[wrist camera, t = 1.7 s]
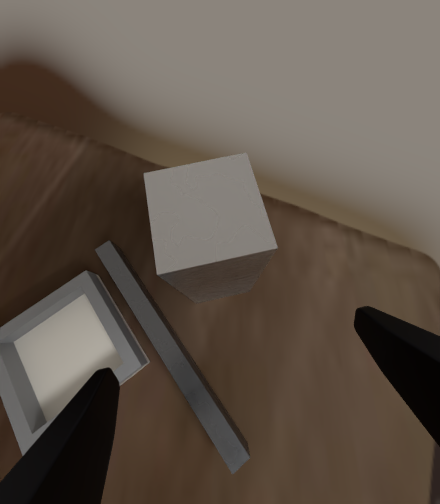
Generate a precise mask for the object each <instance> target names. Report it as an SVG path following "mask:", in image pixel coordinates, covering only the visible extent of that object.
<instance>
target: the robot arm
mask: <svg viewBox="0 0 440 504" xmlns="http://www.w3.org/2000/svg"><path fill="white" fill-rule="evenodd" d="M354 328H355V330H356V332H357V334H358V335H359V337H360V338H361V340H362V342H363V343H364V345H365V346H366V348H367V349H368V351H369V353H370V354H371V356H372V357H373V359H374V360H375V362H376V364H377V365H378V367H379V368H380V370H381V371H382V372H383V374H384V375H385V376H386V378H387V379H388V380H389V382H390V383H391V384H392V386H393V387H394V388H395V390H396V391H397V392H398V393H399V395H400V396H401V397H402V399H403V400H404V401H405V402H406V404H407V405H408V406H409V408H410V409H411V410H412V412H413V413H414V414H415V415H416V417H417V418H418V419H419V421H420V422H421V423H422V425H423V426H424V427H425V428H426V430H427V431H428V432H429V434H430V435H431V436H432V438H433V439H434V440H435V441H436V443H437V444H438V445H439V447H440V336H438V335H436V334H434V333H431V332H429V331H426V330H424V329H422V328H419V327H417V326H415V325H412V324H410V323H408V322H405V321H403V320H401V319H398V318H396V317H394V316H391V315H389V314H387V313H384V312H382V311H380V310H377V309H375V308H373V307H370V306H364V307H360V308H357V309H356V312H355V319H354ZM119 390H120V384H119V381H118V379H117V377H116V376H115V374H114V372H113V371H112V369H111V368H109V367H107V368H102V369H99V370H97V371H95V372H94V374H93V375H92V376H91V377H90V378H89V379H88V381H87V382H86V383H85V384H84V385H83V386H82V388H81V389H80V390H79V391H78V392H77V393H76V395H75V396H74V397H73V398H72V399H71V400H70V402H69V403H68V404H67V405H66V406H65V407H64V409H63V410H62V411H61V412H60V413H59V414H58V416H57V417H56V418H55V419H54V420H53V421H52V423H51V424H50V425H49V426H48V427H47V428H46V430H45V431H44V432H43V433H42V434H41V435H40V437H39V438H38V439H37V440H36V441H35V442H34V444H33V445H32V446H31V447H30V448H29V449H28V451H27V452H26V453H25V454H24V455H23V456H22V458H21V459H20V460H19V461H18V462H17V463H16V465H15V466H14V467H13V468H12V469H11V470H10V472H9V473H8V474H7V475H6V476H5V477H4V479H3V480H2V481H1V482H0V504H101V499H102V494H103V489H104V485H105V480H106V475H107V470H108V465H109V460H110V456H111V451H112V446H113V440H114V434H115V426H116V417H117V408H118V399H119Z"/></svg>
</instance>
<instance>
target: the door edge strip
mask: <svg viewBox="0 0 440 504" xmlns="http://www.w3.org/2000/svg"><path fill="white" fill-rule="evenodd" d="M95 251H96V253H97V254H98V256H99V257H100V259H101V261H102V262H103V264H104V266H105V267H106V269H107V271H108V272H109V274H110V275H111V277H112V279H113V280H114V282H115V284H116V285H117V287H118V288H119V290H120V292H121V293H122V295H123V297H124V298H125V300H126V301H127V303H128V305H129V306H130V308H131V310H132V311H133V313H134V314H135V316H136V318H137V319H138V321H139V323H140V324H141V326H142V328H143V329H144V331H145V332H146V334H147V336H148V337H149V339H150V341H151V342H152V344H153V345H154V347H155V349H156V350H157V352H158V354H159V355H160V357H161V358H162V360H163V362H164V363H165V365H166V367H167V368H168V370H169V372H170V373H171V375H172V376H173V378H174V380H175V381H176V383H177V385H178V386H179V388H180V389H181V391H182V393H183V394H184V396H185V398H186V399H187V401H188V402H189V404H190V406H191V407H192V409H193V411H194V412H195V414H196V415H197V417H198V419H199V420H200V422H201V424H202V425H203V427H204V429H205V430H206V432H207V433H208V435H209V437H210V438H211V440H212V442H213V443H214V445H215V446H216V448H217V450H218V451H219V453H220V455H221V456H222V458H223V459H224V461H225V463H226V464H227V466H228V468H229V469H230V471H231V473H232V474H234V473H235V472H236V471H237V470H238V469H239V468H240V467H241V466H242V465H243V464H244V463H245V462H246V461H247V460H248V459H249V458H250V454H249V448H248V443H247V441H246V440H245V438H244V437H243V435H242V434H241V432H240V430H239V429H238V427H237V426H236V424H235V423H234V421H233V420H232V418H231V417H230V415H229V414H228V412H227V411H226V409H225V408H224V406H223V405H222V403H221V402H220V400H219V399H218V397H217V395H216V394H215V392H214V391H213V389H212V388H211V386H210V385H209V383H208V382H207V380H206V379H205V377H204V376H203V374H202V373H201V371H200V370H199V368H198V367H197V365H196V363H195V362H194V360H193V359H192V357H191V356H190V354H189V353H188V351H187V350H186V348H185V347H184V345H183V344H182V342H181V341H180V339H179V338H178V336H177V335H176V333H175V331H174V330H173V328H172V327H171V325H170V324H169V322H168V321H167V319H166V318H165V316H164V315H163V313H162V312H161V310H160V309H159V307H158V306H157V304H156V303H155V301H154V299H153V298H152V296H151V295H150V293H149V292H148V290H147V289H146V287H145V286H144V284H143V283H142V281H141V280H140V278H139V277H138V275H137V274H136V272H135V271H134V269H133V268H132V266H131V264H130V263H129V261H128V260H127V258H126V257H125V255H124V254H123V252H122V251H121V249H120V248H119V247H118V246H117V245H115V244H114V243H113V242H111V241H110V240H109V241H107V242H106V243H104V244H103V245H101V246H100V247H98V248H97V249H95Z"/></svg>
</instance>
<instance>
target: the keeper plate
mask: <svg viewBox="0 0 440 504" xmlns="http://www.w3.org/2000/svg"><path fill="white" fill-rule="evenodd" d="M149 362H150V361H149V359H148V357H147V356H146V354H145V352H144V351H143V349H142V347H141V346H140V344H139V342H138V341H137V339H136V337H135V336H134V334H133V332H132V331H131V329H130V327H129V325H128V324H127V322H126V320H125V319H124V317H123V315H122V314H121V312H120V310H119V309H118V307H117V305H116V304H115V302H114V300H113V299H112V297H111V295H110V294H109V292H108V290H107V289H106V287H105V285H104V283H103V282H102V280H101V278H100V277H99V275H97V274H94V273H92V272H89V271H87V270H86V271H84V272H83V273H81V274H80V275H78V276H77V277H75V278H74V279H72V280H71V281H69V282H68V283H66V284H65V285H63V286H62V287H60V288H59V289H57V290H56V291H54V292H53V293H51V294H50V295H48V296H47V297H45V298H44V299H42V300H41V301H39V302H38V303H36V304H35V305H33V306H32V307H30V308H29V309H27V310H26V311H24V312H23V313H21V314H20V315H18V316H17V317H15V318H14V319H12V320H11V321H9V322H8V323H6V324H5V325H3V326H2V327H0V396H1V398H2V401H3V404H4V407H5V409H6V412H7V415H8V417H9V420H10V423H11V425H12V428H13V431H14V433H15V436H16V439H17V442H18V444H19V447H20V450H21V452H22V455H24V454H25V453H26V452H27V451H28V449H29V448H30V447H31V446H32V445H33V444H34V442H35V441H36V440H37V439H38V438H39V437H40V435H41V434H42V433H43V432H44V431H45V430H46V428H47V427H48V426H49V425H50V424H51V423H52V421H53V420H54V419H55V418H56V417H57V416H58V414H59V413H60V412H61V411H62V410H63V409H64V407H65V406H66V405H67V404H68V403H69V402H70V400H71V399H72V398H73V397H74V396H75V395H76V393H77V392H78V391H79V390H80V389H81V388H82V386H83V385H84V384H85V383H86V382H87V381H88V379H89V378H90V377H91V376H92V375H93V374H94V372H95V371H97V370H99V369H102V368H107V367H109V368H111V369H112V371H113V372H114V374H115V376H116V377H117V379H118V381H119V384H120V385H122V384H123V383H124V382H125V381H127V380H128V379H129V378H130V377H132V376H133V375H134V374H136V373H137V372H138V371H139V370H141V369H142V368H143V367H144V366H146V365H147V364H148V363H149Z"/></svg>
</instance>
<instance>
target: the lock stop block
mask: <svg viewBox="0 0 440 504" xmlns="http://www.w3.org/2000/svg"><path fill="white" fill-rule="evenodd" d="M144 180H145V188H146V196H147V203H148V211H149V218H150V226H151V233H152V241H153V248H154V256H155V264H156V271H157V275H158V276H159V277H161V278H162V279H163V280H165V281H166V282H167V283H169V284H170V285H172V286H173V287H174V288H176V289H177V290H178V291H180V292H181V293H183V294H184V295H185V296H187V297H188V298H189V299H191V300H192V301H193V302H195V303H196V304H197V303H201V302H206V301H210V300H214V299H219V298H223V297H227V296H232V295H236V294H240V293H245V292H249V291H250V290H251V288H252V287H253V285H254V284H255V282H256V281H257V279H258V278H259V276H260V274H261V273H262V271H263V270H264V268H265V267H266V265H267V264H268V262H269V261H270V259H271V258H272V256H273V255H274V253H275V252H276V250H277V248H278V247H277V244H276V241H275V238H274V235H273V232H272V229H271V226H270V223H269V220H268V217H267V214H266V210H265V207H264V204H263V201H262V198H261V195H260V192H259V189H258V186H257V183H256V180H255V177H254V174H253V171H252V168H251V164H250V162H249V158H248V155H247V153H242V154H237V155H232V156H227V157H222V158H217V159H212V160H208V161H202V162H197V163H192V164H187V165H183V166H177V167H172V168H168V169H163V170H158V171H153V172H148V173H144Z"/></svg>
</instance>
